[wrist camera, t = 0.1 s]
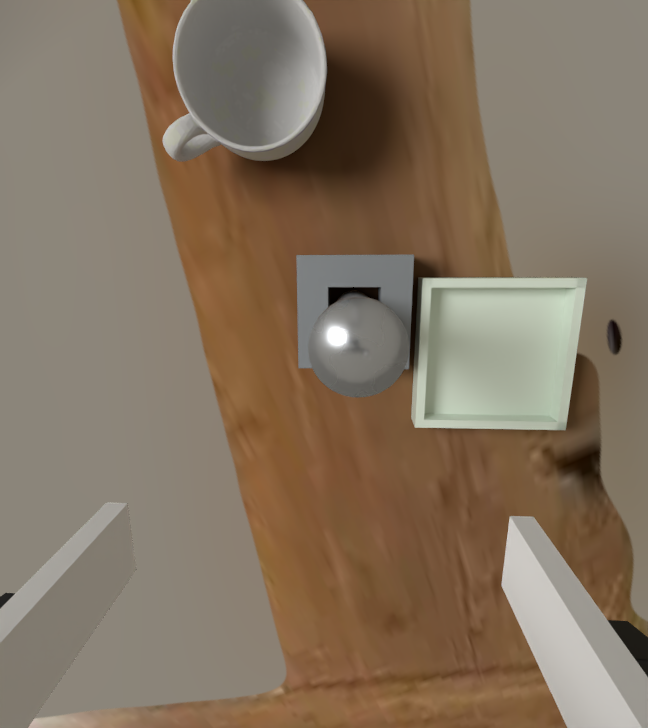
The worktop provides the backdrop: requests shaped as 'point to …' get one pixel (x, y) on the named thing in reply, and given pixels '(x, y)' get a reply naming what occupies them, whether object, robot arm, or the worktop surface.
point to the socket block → (350, 272)
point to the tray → (495, 351)
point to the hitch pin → (358, 346)
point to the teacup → (247, 78)
